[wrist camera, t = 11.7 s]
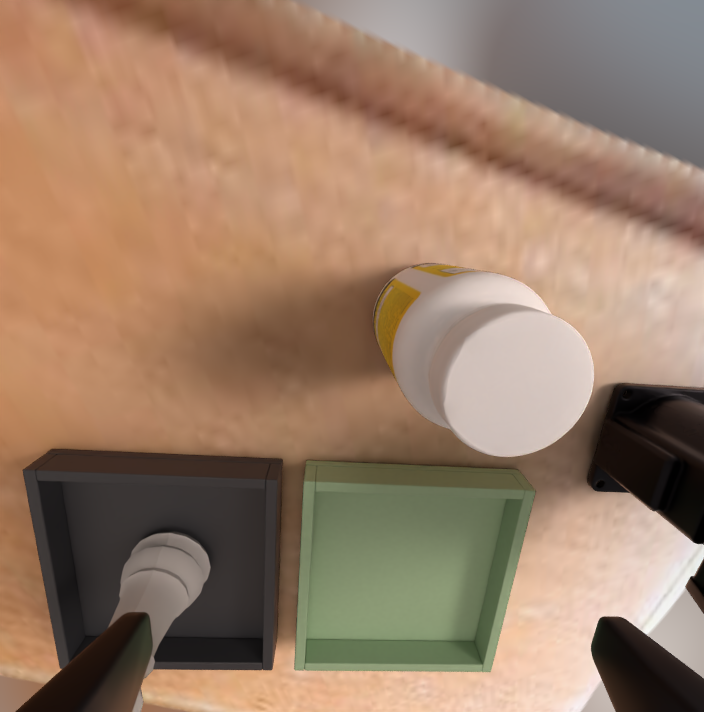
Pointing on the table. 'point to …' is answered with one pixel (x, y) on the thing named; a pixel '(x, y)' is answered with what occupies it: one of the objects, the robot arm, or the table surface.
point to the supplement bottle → (483, 357)
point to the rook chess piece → (162, 583)
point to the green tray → (406, 565)
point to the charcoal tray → (151, 516)
